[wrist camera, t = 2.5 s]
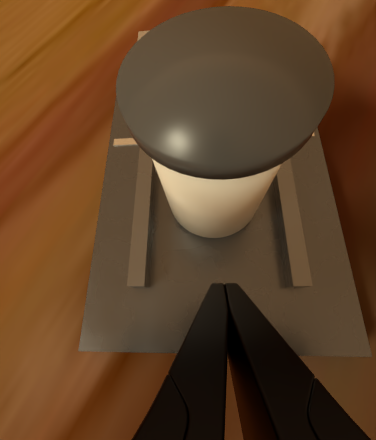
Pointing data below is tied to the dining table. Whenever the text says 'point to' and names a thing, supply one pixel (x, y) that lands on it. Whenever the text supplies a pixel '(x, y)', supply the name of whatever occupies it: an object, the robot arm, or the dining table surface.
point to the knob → (223, 108)
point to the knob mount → (219, 260)
